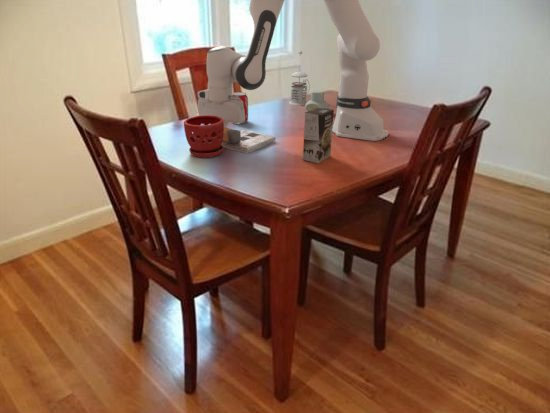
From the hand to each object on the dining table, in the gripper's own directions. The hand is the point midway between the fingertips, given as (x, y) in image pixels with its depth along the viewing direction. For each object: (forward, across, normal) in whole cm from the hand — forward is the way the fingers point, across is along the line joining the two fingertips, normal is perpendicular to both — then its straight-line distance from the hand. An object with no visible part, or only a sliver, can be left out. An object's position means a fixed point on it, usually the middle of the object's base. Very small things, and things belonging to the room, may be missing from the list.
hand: (222, 131), depth 168 cm
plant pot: (+3, -6, +16) cm, 17 cm away
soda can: (+4, +11, -24) cm, 27 cm away
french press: (+4, +10, -70) cm, 71 cm away
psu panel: (+3, -9, -1) cm, 10 cm away
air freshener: (+4, -7, -58) cm, 58 cm away
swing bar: (+1, -4, +4) cm, 5 cm away
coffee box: (+4, -39, -4) cm, 39 cm away
